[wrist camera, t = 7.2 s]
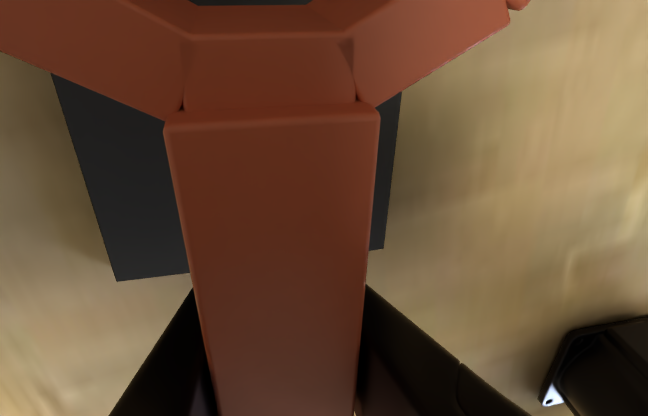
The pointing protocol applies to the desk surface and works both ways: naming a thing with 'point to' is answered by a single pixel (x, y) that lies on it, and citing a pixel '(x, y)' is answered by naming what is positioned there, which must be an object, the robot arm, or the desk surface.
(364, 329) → the robot arm
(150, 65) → the rust loop
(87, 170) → the mat
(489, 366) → the desk surface
